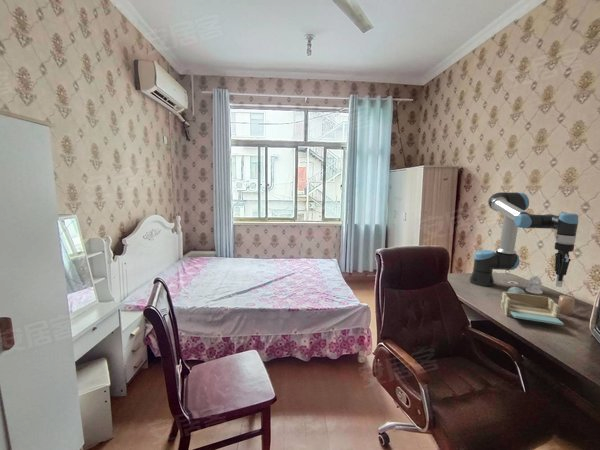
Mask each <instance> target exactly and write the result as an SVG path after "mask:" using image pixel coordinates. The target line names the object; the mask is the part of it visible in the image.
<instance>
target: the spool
mask: <svg viewBox="0 0 600 450" xmlns="http://www.w3.org/2000/svg"><path fill="white" fill-rule="evenodd" d="M507 292H511V293H519V294H527V293H526V292H525V290H524V289H522V288H520V287H518V286H512V287H510V288H508V290H507Z"/></svg>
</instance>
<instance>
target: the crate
mask: <svg viewBox="0 0 600 450" xmlns="http://www.w3.org/2000/svg"><path fill="white" fill-rule="evenodd" d="M499 307H501V309H502V311H503V313H504V315H505V316H506V317H511V318H514V316H513V315H512V314H511V313H510V311H515V312H522V313H529V314H535V315H542V316H549V317H555V318H557V319H559V318H560V307H559V306H558V303H556V302H555V301H554V300H553V299H552V298H551V297H549V296H541V295H534V294H533V295H532V294H527V293H526V294H519V293H511V292H508V291H501V296H500V306H499ZM559 320H560V319H559Z"/></svg>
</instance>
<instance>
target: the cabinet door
mask: <svg viewBox="0 0 600 450" xmlns="http://www.w3.org/2000/svg"><path fill="white" fill-rule="evenodd" d="M510 313H511V314H512V315H513V316H514V317H513V318H514V319H520V320H527V321H534V322H539V323H541V322H542V323H546V324H553V325H559V326H564V324H565V323H564V322H563V321H561V320H560V319H557V318H555V317H549V316H542V315H535V314H529V313H522V312H515V311H510Z"/></svg>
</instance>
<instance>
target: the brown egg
mask: <svg viewBox="0 0 600 450" xmlns="http://www.w3.org/2000/svg"><path fill="white" fill-rule="evenodd" d="M575 302H576V298H574V297H572V296H568V295H564V294H563V295H559V298H558V302H557V305H558V306H559V307H560V313H559V315H560V314H561V315H564V316H570V317H571V316H573V314H574V310H575V309H574V308H575Z"/></svg>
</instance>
